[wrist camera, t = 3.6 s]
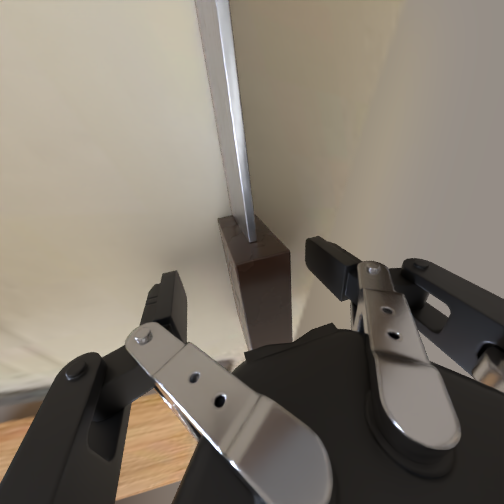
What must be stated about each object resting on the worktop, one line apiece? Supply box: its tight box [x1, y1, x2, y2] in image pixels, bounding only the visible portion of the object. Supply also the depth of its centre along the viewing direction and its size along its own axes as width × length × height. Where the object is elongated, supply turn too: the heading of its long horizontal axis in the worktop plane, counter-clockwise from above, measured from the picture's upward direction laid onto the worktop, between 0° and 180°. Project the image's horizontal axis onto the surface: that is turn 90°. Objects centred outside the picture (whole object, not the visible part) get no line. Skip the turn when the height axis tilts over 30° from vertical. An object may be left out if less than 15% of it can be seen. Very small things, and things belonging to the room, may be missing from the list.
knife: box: [195, 0, 292, 351], centre depth 9 cm, size 23×2×6 cm, turn 7°
